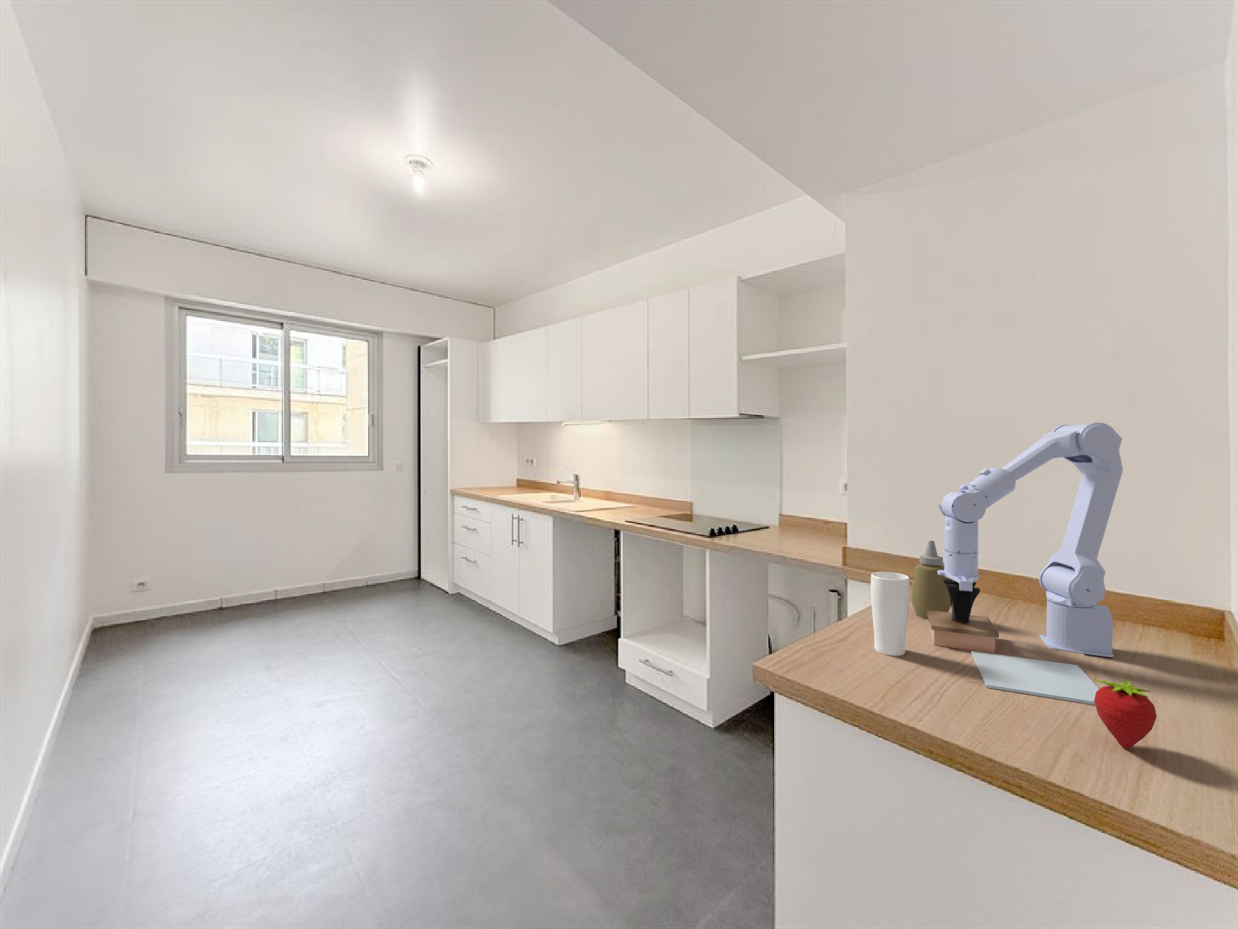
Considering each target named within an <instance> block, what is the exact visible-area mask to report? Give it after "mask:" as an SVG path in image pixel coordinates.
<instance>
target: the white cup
mask: <svg viewBox="0 0 1238 929" xmlns="http://www.w3.org/2000/svg"><path fill="white" fill-rule="evenodd" d="M910 580H911V579H910V576H908V575H906V574H903V573H899V572H898V573H897V572H892V571H891V572H890V571H874V572H872V573H871V574H870V602H871V603H870V604H871V614H872V615H871V617H872V625H873V626H872V627H873V639H874V640H873V643H874V646H873V647H874V649H875V651H876V652H877V653H880V654H881V655H886V656H889V657H901V656H903V655H905V653H906V641H907V630H908V621H909V609H910V601H911V584H910V582H911V581H910Z"/></svg>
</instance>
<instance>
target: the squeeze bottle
mask: <svg viewBox="0 0 1238 929" xmlns="http://www.w3.org/2000/svg"><path fill="white" fill-rule="evenodd" d="M938 570H944V557H942V556H940V555H939V554H938V551H937V546H936V543H935V541H934V540H928V542H927V545H926V549H925V553H924V554H921V555H919V564H917V565H915V566H914V573H913V581H912V582H913V583H912V589H911V595H910V601H911V604H912V607H913V609H914V610H913V611H914V612H915V615H916V617H918V616H919V617H921V618H920V619H922V618H923V619H922V620H926V619H928V616H927V610H930V611H939V612H948V613H950V609H951V602H950V597H949V593H948V590H947V587H946V585H945V583H944V581H943V579H950V578H948V577H946V576H943V575H938ZM919 617H918V618H919Z"/></svg>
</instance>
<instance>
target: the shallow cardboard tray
mask: <svg viewBox="0 0 1238 929" xmlns="http://www.w3.org/2000/svg"><path fill="white" fill-rule="evenodd" d="M929 631H930V632H929V633H930V636H931V639H932V643H933V646H936V647H937V646H938V647H946V648H953V649H959V650H965V651H977V652H984V653H992V654H996V638H995V637H987V636H979V635H971V634H963V633H955V632H947V631H939V630H931V626H930V625H929Z"/></svg>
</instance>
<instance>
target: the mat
mask: <svg viewBox="0 0 1238 929" xmlns="http://www.w3.org/2000/svg"><path fill="white" fill-rule="evenodd" d="M970 653H971V655H972V657H973V660H974V663H975V664H976V666H977V668H978V671H979V673H980V675H981V678H982V679H983V683H984V685H985V688H986V689H987V688H988V689H993V690H994V689H995V690H998V691H999V690H1000V691H1005V692H1012V693H1018V694H1025V695H1030V696H1037V697H1042V698H1043V697H1044V698H1050V699H1055V700H1062V701H1067V702H1074V703H1075V702H1076V703H1081V704H1086V705H1092V706H1095V703H1094V699H1095V695H1096V692H1097V690H1099V689H1100V688H1099V687H1098V685H1096V684H1095V683H1094V681H1093V680H1092V679H1091V678H1090V677H1089V676H1088V675H1087V674H1086V673H1085V672H1084V670H1083V669H1081V667H1080V666H1079V665H1078V664H1071V663H1065V662H1056V661H1048V660H1043V659H1035V658H1027V657H1020V656H1012V655H1006V654H1005V655H1004V654H997V653H987V652H980V651H973V650H970Z"/></svg>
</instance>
